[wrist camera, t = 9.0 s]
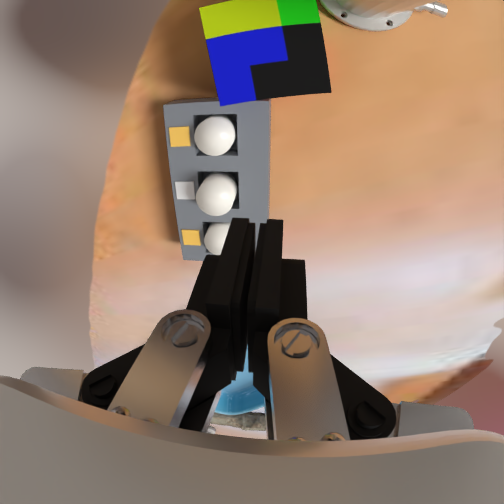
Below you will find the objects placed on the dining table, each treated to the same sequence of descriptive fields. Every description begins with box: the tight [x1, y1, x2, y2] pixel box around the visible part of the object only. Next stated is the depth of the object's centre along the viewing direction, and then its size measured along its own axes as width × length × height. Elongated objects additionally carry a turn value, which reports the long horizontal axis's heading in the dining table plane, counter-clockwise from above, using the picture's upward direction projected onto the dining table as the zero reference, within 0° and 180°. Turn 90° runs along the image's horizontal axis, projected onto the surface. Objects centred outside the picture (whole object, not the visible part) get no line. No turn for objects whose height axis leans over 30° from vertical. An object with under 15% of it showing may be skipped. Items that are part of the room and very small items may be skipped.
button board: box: [163, 98, 271, 261], centre depth 38 cm, size 12×22×4 cm, turn 0°
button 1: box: [194, 114, 237, 156], centre depth 33 cm, size 4×4×4 cm
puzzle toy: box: [199, 0, 331, 107], centre depth 25 cm, size 10×10×10 cm
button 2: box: [204, 222, 230, 255], centre depth 41 cm, size 4×4×4 cm
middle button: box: [196, 171, 238, 216], centre depth 36 cm, size 4×4×4 cm
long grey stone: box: [210, 412, 266, 431], centre depth 82 cm, size 35×5×10 cm
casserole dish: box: [215, 344, 264, 415], centre depth 62 cm, size 37×22×7 cm, turn 141°
